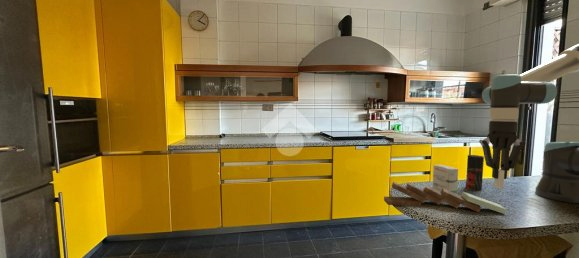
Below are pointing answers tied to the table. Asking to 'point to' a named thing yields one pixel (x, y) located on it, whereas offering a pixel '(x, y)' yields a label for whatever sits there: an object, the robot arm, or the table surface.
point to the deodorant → (474, 172)
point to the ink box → (445, 178)
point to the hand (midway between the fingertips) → (498, 187)
